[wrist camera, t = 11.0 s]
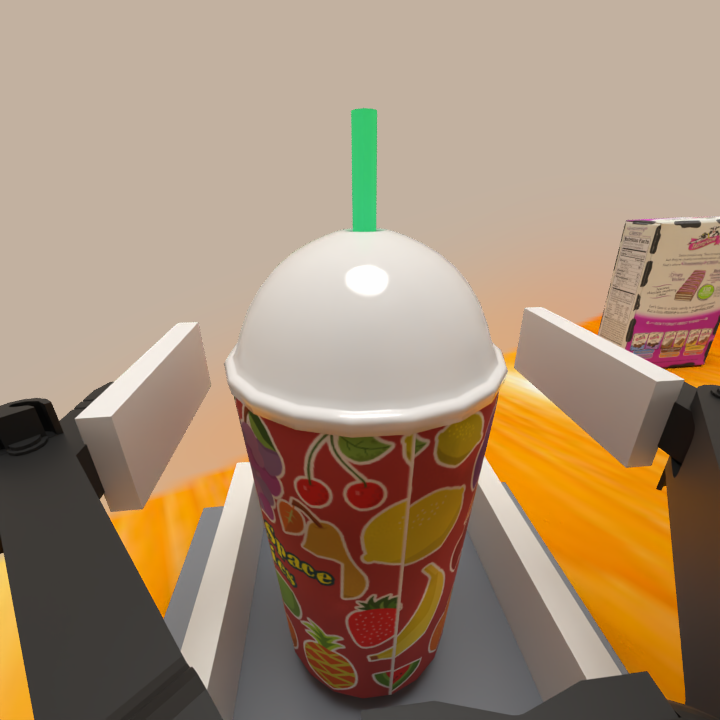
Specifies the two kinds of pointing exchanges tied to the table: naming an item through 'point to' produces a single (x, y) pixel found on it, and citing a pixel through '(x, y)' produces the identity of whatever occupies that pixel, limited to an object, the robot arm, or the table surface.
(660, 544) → the table surface
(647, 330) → the candy bar box
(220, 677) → the board
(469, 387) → the smoothie
